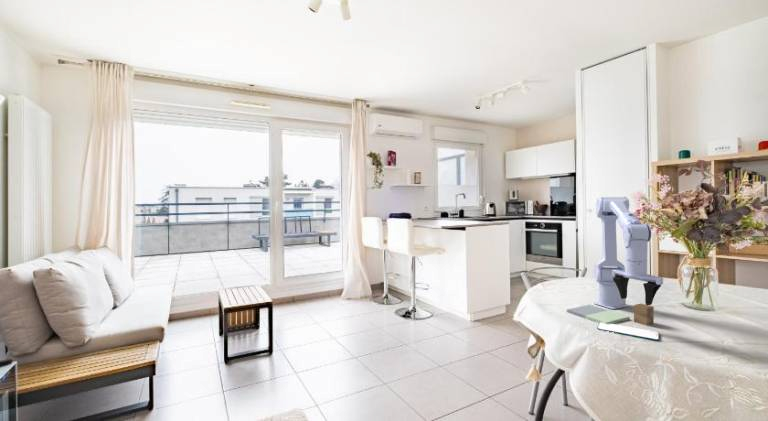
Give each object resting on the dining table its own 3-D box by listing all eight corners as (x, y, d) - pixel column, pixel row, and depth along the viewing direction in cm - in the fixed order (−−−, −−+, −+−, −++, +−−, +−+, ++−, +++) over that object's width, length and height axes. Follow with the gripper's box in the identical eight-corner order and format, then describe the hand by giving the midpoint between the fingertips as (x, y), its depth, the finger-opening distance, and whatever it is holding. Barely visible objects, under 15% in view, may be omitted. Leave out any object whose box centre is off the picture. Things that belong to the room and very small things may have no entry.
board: (589, 307, 135) (589, 304, 135) (629, 319, 121) (629, 316, 121) (566, 312, 130) (566, 309, 130) (605, 325, 116) (605, 322, 116)
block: (640, 320, 120) (641, 303, 120) (653, 323, 117) (653, 306, 117) (633, 321, 119) (634, 304, 119) (646, 325, 115) (646, 308, 115)
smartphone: (596, 331, 112) (658, 342, 102) (596, 328, 112) (658, 339, 102) (600, 324, 119) (658, 334, 109) (600, 321, 119) (658, 331, 109)
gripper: (606, 258, 116) (605, 297, 117) (653, 265, 103) (653, 309, 103) (619, 256, 119) (619, 294, 120) (667, 263, 106) (666, 306, 106)
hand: (635, 301), depth 112 cm, fingers open, 7 cm apart
